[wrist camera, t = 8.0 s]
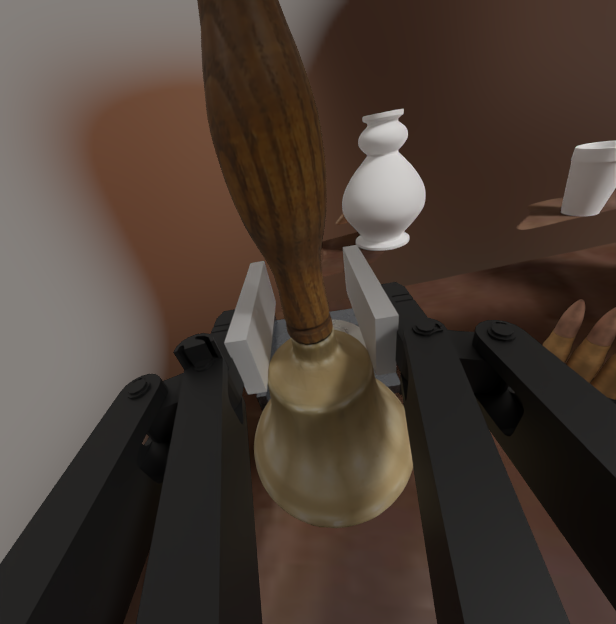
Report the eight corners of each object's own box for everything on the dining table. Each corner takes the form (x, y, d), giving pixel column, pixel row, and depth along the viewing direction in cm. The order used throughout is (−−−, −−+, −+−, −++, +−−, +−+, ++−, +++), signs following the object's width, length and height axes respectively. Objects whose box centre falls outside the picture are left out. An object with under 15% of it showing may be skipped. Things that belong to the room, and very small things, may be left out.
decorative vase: (331, 243, 67) (318, 125, 52) (383, 224, 72) (385, 113, 58) (378, 262, 53) (378, 111, 39) (438, 237, 59) (457, 98, 45)
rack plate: (366, 312, 40) (366, 299, 38) (400, 392, 27) (401, 376, 26) (272, 327, 40) (268, 314, 39) (262, 411, 28) (256, 397, 26)
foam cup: (555, 205, 64) (578, 143, 56) (609, 206, 58) (643, 138, 50) (548, 217, 58) (573, 150, 51) (607, 219, 53) (644, 145, 45)
